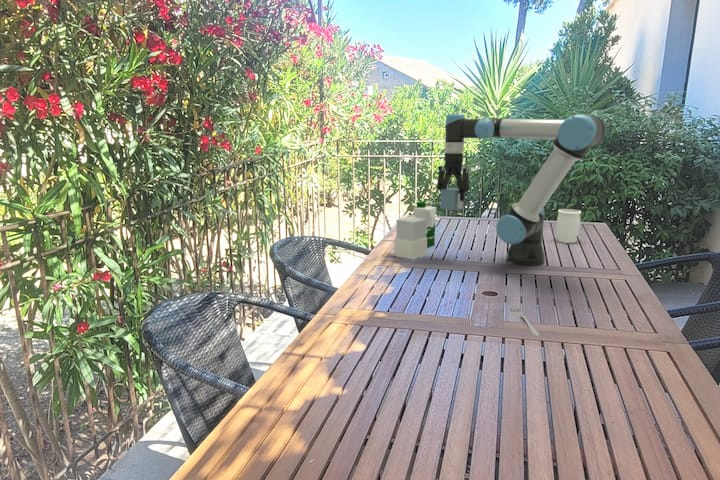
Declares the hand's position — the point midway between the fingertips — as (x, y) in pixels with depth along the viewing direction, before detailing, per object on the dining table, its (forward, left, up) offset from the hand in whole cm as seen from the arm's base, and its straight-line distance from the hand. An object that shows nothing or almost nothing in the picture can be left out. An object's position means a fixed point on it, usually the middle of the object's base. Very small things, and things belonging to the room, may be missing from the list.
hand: (452, 207), depth 216 cm
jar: (-26, -60, -21) cm, 69 cm away
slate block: (0, 0, 0) cm, 0 cm away
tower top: (+13, +11, -13) cm, 22 cm away
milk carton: (+19, -7, -21) cm, 30 cm away
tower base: (+13, +11, -21) cm, 27 cm away
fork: (-58, +45, -22) cm, 76 cm away
